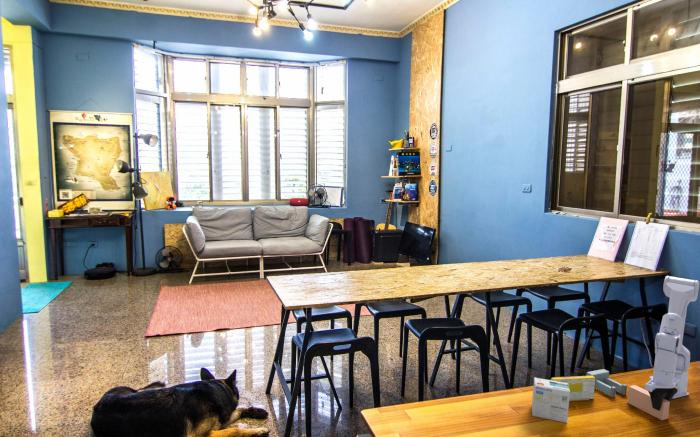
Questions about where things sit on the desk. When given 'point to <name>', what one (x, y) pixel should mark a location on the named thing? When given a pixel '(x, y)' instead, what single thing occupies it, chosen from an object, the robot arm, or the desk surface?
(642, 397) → the salmon pink block
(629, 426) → the desk surface
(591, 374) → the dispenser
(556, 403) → the light bulb box
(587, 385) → the candy box
